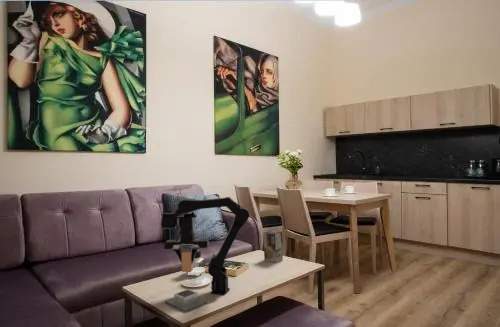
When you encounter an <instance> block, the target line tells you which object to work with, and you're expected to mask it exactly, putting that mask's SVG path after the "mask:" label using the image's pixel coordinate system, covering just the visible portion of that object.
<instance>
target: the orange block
mask: <svg viewBox="0 0 500 327" xmlns="http://www.w3.org/2000/svg"><path fill="white" fill-rule="evenodd" d="M192 248H193V246H182V249H181V252H182V263H181V272H182V273H186V272H191V271H192V270H193V263H192V261H191V259H192Z"/></svg>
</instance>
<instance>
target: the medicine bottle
mask: <svg viewBox="0 0 500 327" xmlns="http://www.w3.org/2000/svg"><path fill="white" fill-rule="evenodd" d="M201 254H202V252H201V250H200V249H199V250H197V251H196V254H195V257H194V261H193V268H195V267H204V268H205V259H204V258H203V257H202V255H201ZM185 273H186V277H189V276H188V272H185Z"/></svg>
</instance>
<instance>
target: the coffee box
mask: <svg viewBox="0 0 500 327" xmlns="http://www.w3.org/2000/svg"><path fill="white" fill-rule="evenodd" d="M262 235H263V250H264V251H263V252H264V254H263V255H264V256H263V257H264V261H267V262H270V263H276V264H277V263H280V262H282V261H284V260H283V259H284V258H283V257H284V256H283V233H282V231H281V232H280V231H275V230H267V231H265V232H263V234H262Z"/></svg>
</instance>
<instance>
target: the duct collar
mask: <svg viewBox="0 0 500 327" xmlns="http://www.w3.org/2000/svg"><path fill="white" fill-rule="evenodd" d="M208 303H209V301H208V300H206V299H204V298H202V297H199V292H197V291H194V290H192V289H190V288H187V289H184V290H181V291H179V292H176V293H173V297H171V298H169V299H168V298H167V299H165V300H164V304H167V305H169V306H171V307H172V308H174V309H177V310H180V311H181V312H183V313H185V314H186V313H188V312H190V311H192V310H194V309H197V308H199V307H201V306H204V305H206V304H208Z"/></svg>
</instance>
